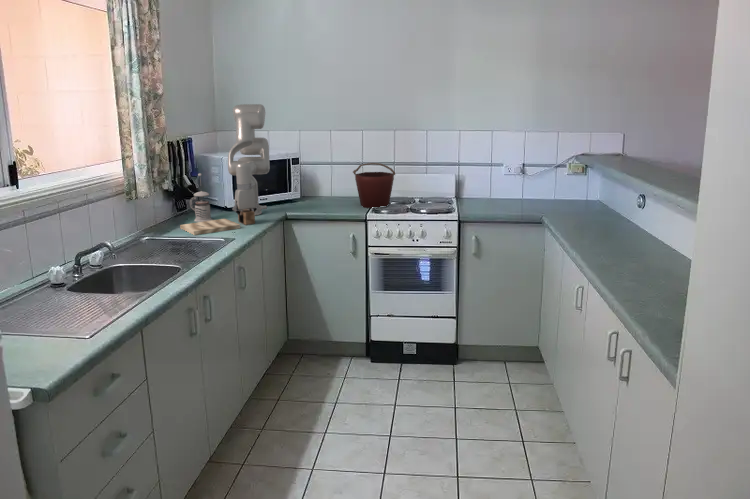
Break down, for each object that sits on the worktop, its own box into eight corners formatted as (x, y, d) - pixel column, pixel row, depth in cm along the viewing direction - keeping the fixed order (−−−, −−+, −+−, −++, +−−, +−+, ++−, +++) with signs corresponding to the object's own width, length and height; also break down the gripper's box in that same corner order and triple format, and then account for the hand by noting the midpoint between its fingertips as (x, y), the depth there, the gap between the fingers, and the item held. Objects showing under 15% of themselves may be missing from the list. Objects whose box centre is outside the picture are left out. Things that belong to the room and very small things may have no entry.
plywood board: (225, 222, 327) (224, 218, 327) (240, 228, 313) (240, 224, 313) (180, 228, 313) (180, 224, 313) (194, 235, 299) (193, 231, 299)
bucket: (348, 207, 364) (347, 164, 357) (363, 200, 384) (363, 160, 377) (387, 210, 355) (387, 166, 348) (400, 203, 374) (401, 161, 368)
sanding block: (247, 221, 330) (246, 209, 328) (255, 223, 323) (254, 211, 321) (238, 222, 327) (237, 210, 325) (246, 225, 320) (245, 213, 318)
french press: (207, 222, 328) (204, 174, 322) (187, 221, 330) (183, 174, 324) (216, 218, 337) (212, 172, 331) (196, 217, 340) (192, 171, 333)
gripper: (256, 184, 328) (258, 218, 332) (226, 187, 318) (228, 222, 322) (262, 186, 322) (264, 220, 327) (232, 189, 312) (234, 225, 317)
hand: (246, 221), depth 325 cm, fingers closed on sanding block, 5 cm apart
